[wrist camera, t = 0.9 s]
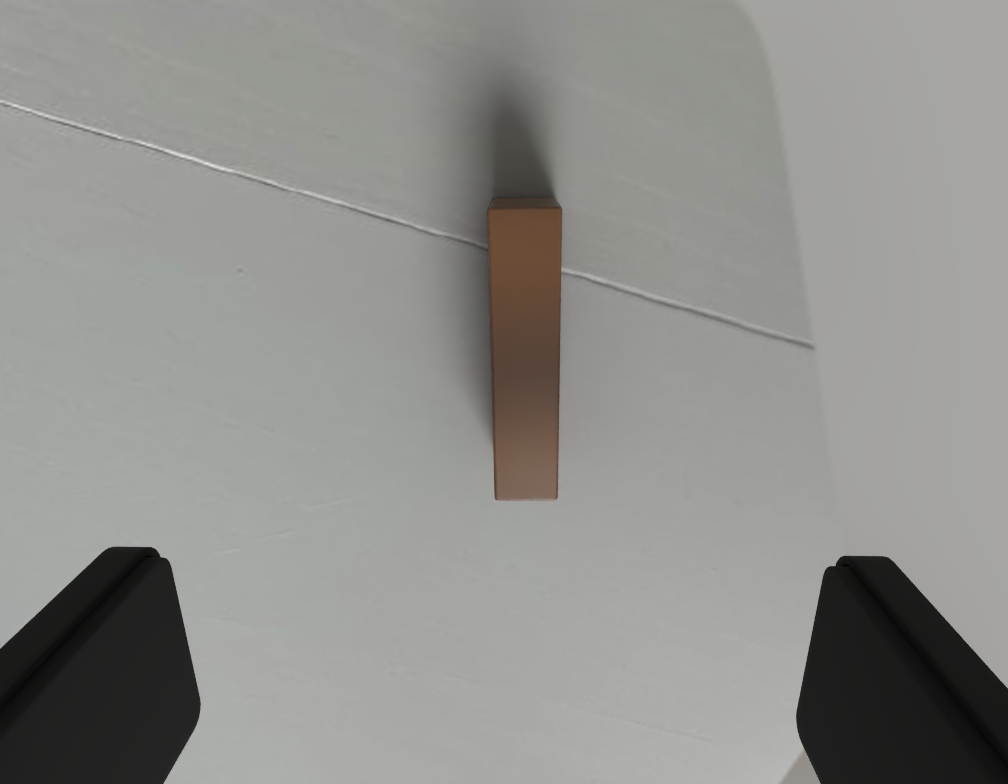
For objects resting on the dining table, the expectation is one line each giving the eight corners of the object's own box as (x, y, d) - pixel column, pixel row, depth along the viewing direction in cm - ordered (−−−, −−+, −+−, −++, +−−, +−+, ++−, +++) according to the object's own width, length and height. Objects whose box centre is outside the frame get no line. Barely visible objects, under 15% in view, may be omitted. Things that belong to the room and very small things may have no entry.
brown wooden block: (492, 198, 20) (487, 207, 17) (556, 196, 20) (562, 205, 17) (497, 458, 23) (494, 501, 20) (553, 458, 23) (557, 501, 20)
